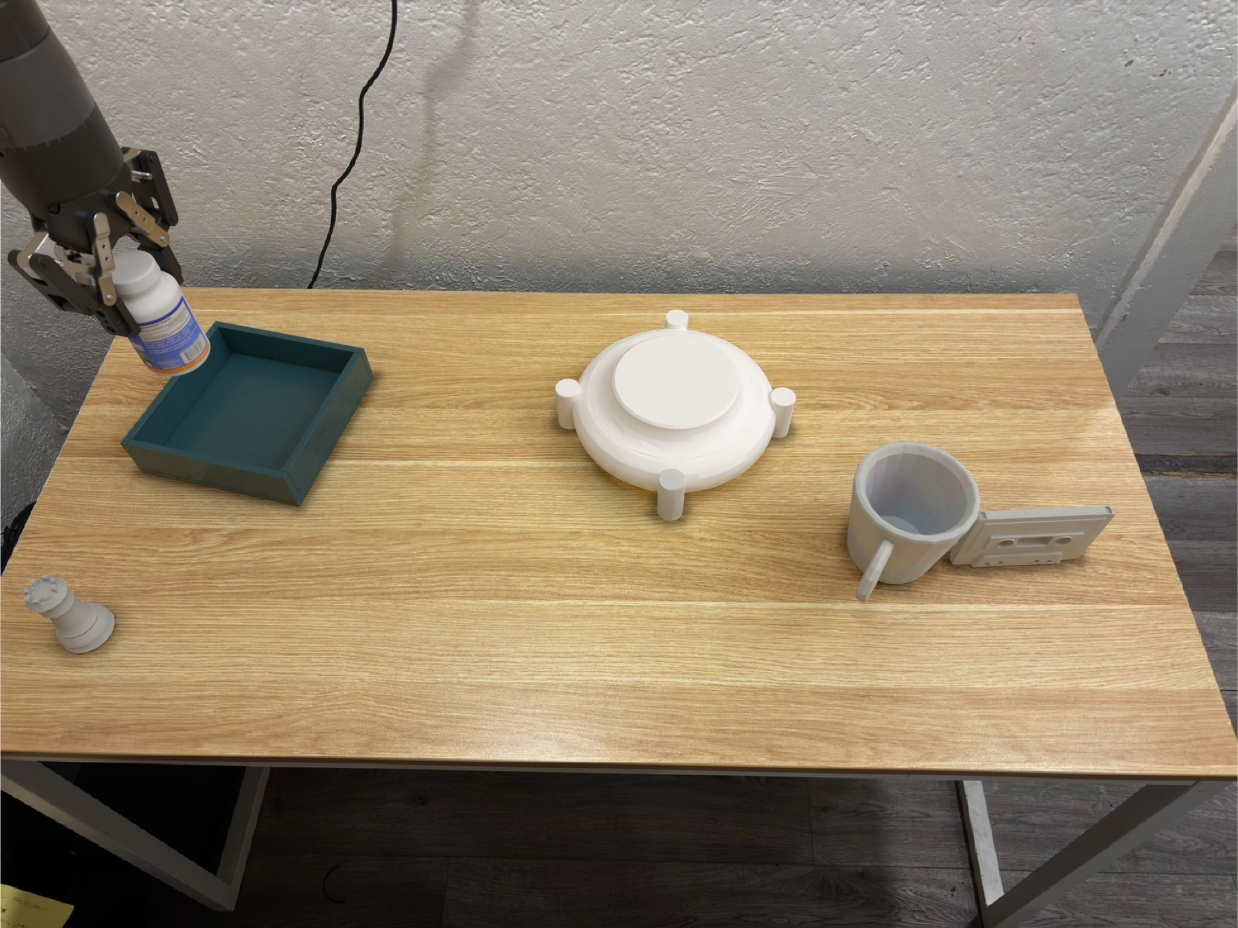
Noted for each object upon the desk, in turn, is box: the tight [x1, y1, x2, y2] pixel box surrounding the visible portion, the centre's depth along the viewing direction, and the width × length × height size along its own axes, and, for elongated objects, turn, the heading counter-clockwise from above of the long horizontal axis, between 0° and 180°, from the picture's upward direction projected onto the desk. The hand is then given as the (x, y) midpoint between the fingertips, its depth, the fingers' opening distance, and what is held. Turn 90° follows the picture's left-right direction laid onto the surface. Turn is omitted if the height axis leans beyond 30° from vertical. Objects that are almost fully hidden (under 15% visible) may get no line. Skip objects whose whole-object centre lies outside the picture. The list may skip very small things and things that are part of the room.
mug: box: [846, 440, 982, 603], centre depth 73 cm, size 10×15×10 cm
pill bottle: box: [112, 249, 210, 378], centre depth 67 cm, size 5×5×10 cm
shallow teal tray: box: [119, 320, 375, 507], centre depth 86 cm, size 18×18×5 cm
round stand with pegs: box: [554, 309, 797, 522], centre depth 84 cm, size 24×24×7 cm
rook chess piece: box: [22, 574, 116, 654], centre depth 71 cm, size 4×4×8 cm
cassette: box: [949, 505, 1116, 568], centre depth 74 cm, size 12×2×8 cm, turn 93°
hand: (150, 307), depth 67 cm, fingers closed on pill bottle, 5 cm apart
